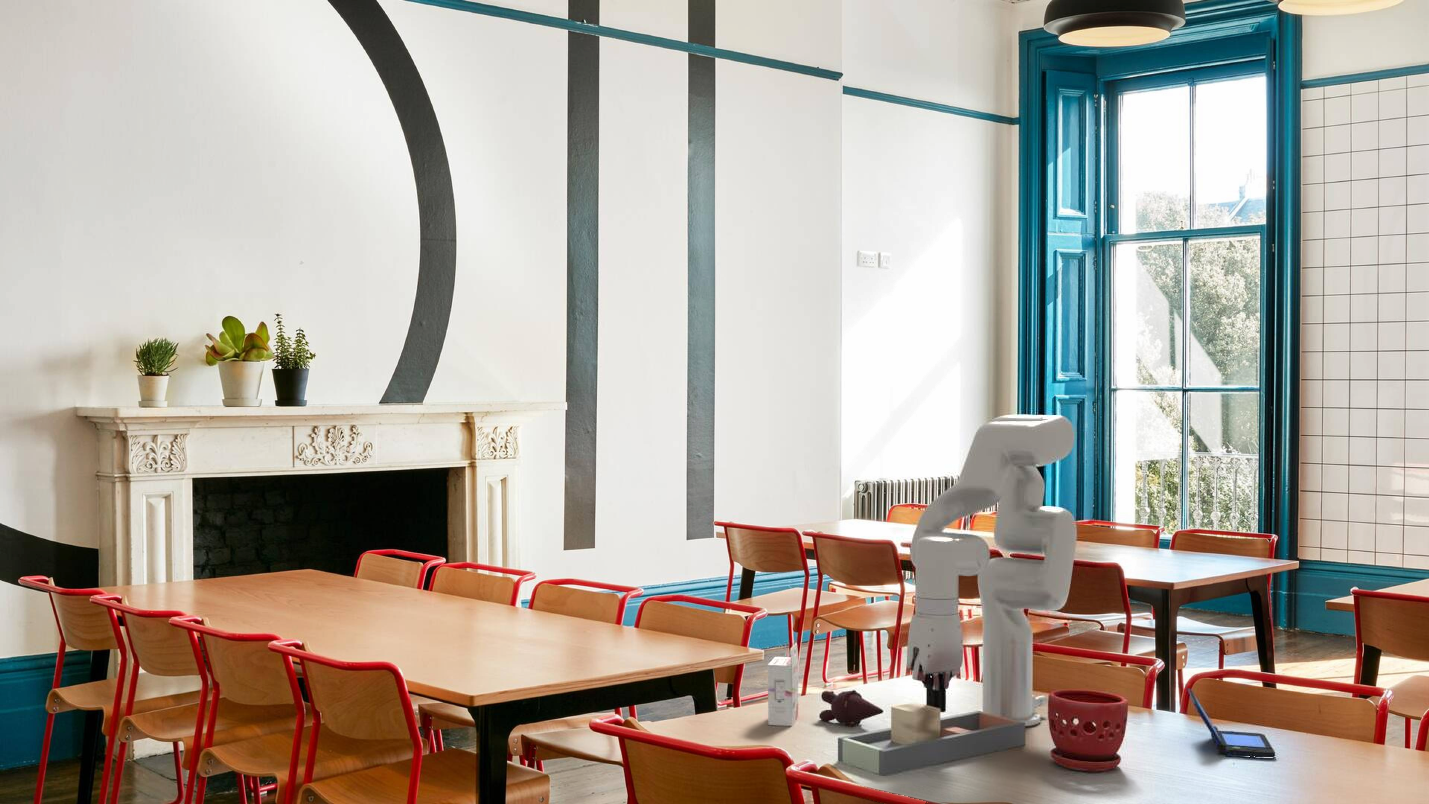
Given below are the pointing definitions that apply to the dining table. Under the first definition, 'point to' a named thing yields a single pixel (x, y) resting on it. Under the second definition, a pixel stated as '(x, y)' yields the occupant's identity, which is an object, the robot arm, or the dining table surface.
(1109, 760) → the plant pot
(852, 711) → the gnome figurine
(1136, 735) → the dining table surface
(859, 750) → the compartment tray
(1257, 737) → the handheld game console
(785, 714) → the ink cartridge box
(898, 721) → the maple block
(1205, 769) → the dining table surface
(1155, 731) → the dining table surface
